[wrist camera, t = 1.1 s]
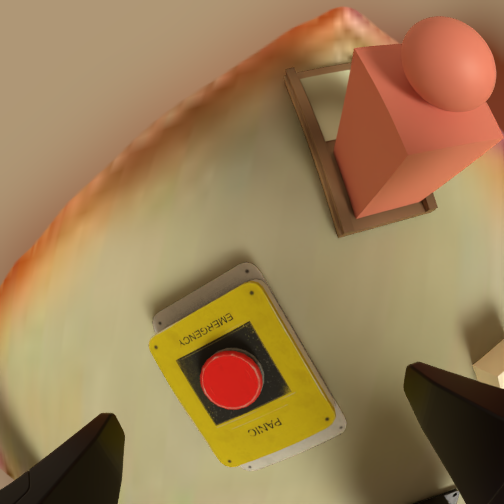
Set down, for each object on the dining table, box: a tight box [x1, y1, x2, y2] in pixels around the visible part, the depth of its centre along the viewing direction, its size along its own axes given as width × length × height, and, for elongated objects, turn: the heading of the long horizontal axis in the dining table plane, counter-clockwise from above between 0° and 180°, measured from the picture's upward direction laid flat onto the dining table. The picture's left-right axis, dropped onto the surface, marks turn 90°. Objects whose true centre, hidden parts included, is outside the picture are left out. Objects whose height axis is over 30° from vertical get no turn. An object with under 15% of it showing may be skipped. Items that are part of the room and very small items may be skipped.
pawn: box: [333, 16, 504, 219], centre depth 13 cm, size 5×5×14 cm
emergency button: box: [149, 262, 347, 471], centre depth 20 cm, size 9×4×15 cm
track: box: [284, 63, 438, 238], centre depth 21 cm, size 14×8×2 cm, turn 14°
